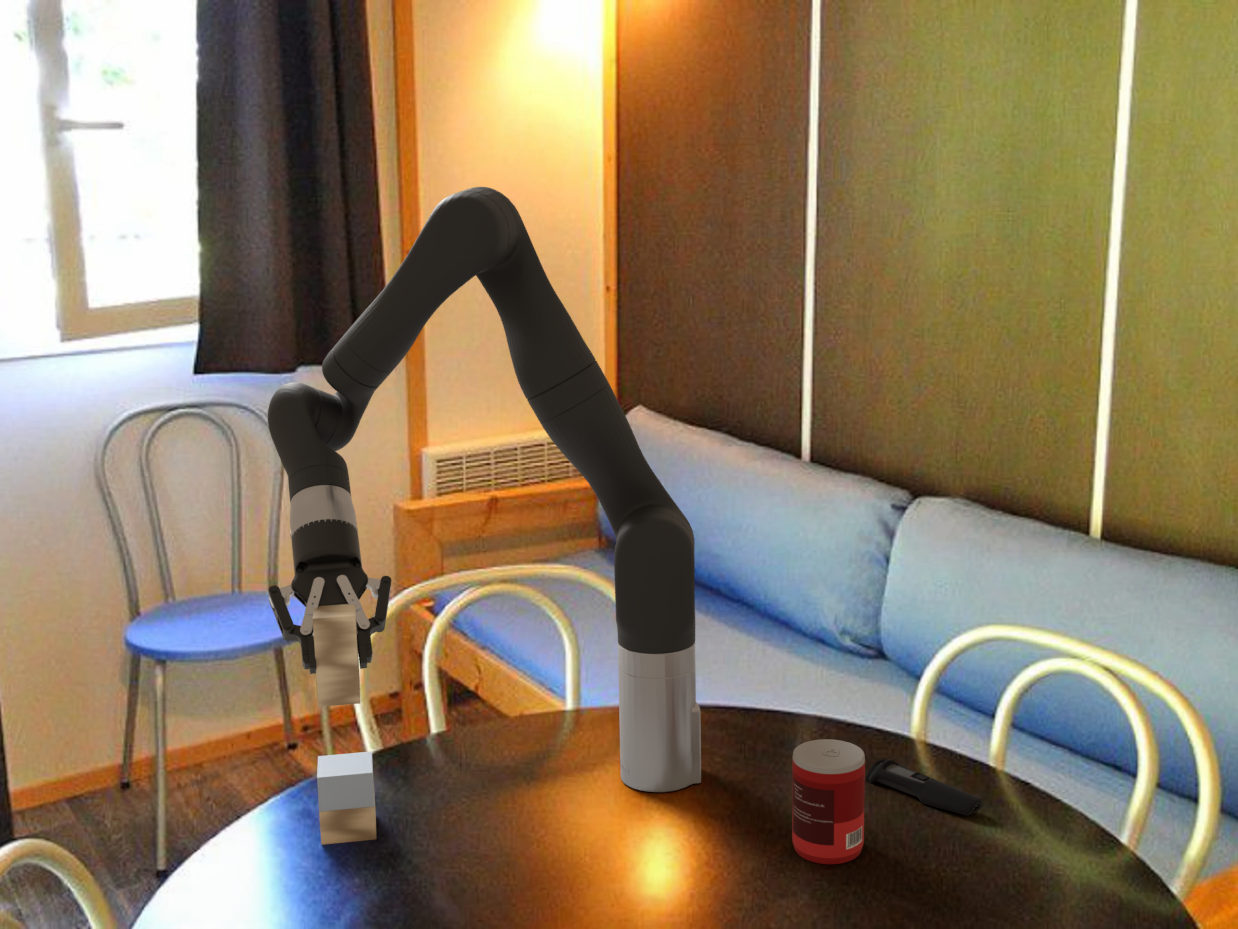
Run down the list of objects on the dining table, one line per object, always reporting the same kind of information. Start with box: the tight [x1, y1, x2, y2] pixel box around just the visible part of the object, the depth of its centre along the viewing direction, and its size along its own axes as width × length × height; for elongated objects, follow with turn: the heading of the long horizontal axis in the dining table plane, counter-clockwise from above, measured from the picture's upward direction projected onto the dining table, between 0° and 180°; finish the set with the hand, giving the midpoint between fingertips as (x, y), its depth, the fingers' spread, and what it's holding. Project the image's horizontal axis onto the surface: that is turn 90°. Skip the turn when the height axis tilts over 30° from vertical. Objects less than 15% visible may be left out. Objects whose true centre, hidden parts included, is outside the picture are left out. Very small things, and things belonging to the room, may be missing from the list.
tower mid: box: [316, 750, 376, 813], centre depth 159 cm, size 6×6×4 cm
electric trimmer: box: [865, 758, 983, 816], centre depth 165 cm, size 4×16×3 cm, turn 38°
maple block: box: [313, 604, 361, 708], centre depth 156 cm, size 4×4×10 cm
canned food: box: [791, 738, 866, 865], centre depth 152 cm, size 8×8×11 cm
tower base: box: [318, 792, 377, 846], centre depth 160 cm, size 6×6×4 cm
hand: (338, 667), depth 154 cm, fingers closed on maple block, 4 cm apart
